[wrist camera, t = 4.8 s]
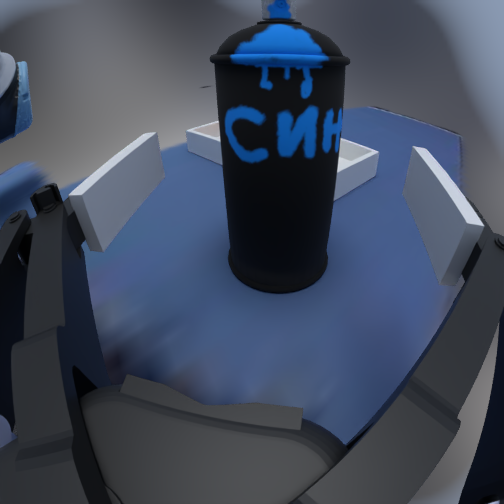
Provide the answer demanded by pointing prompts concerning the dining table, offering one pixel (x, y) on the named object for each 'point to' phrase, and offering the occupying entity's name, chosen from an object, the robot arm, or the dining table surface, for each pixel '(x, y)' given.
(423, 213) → the robot arm
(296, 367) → the dining table surface
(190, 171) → the dining table surface
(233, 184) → the aerosol can
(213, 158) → the tray
